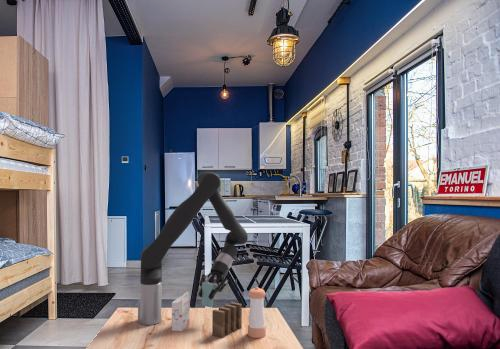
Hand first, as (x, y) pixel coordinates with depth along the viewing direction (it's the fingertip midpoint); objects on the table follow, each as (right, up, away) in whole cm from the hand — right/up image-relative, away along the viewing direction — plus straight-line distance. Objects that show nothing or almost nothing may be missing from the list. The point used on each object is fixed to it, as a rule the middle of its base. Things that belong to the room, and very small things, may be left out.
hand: (204, 297), depth 166 cm
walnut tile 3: (+11, -12, -5) cm, 17 cm away
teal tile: (+1, -4, +1) cm, 5 cm away
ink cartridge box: (-10, -12, -3) cm, 16 cm away
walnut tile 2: (+13, -12, -2) cm, 18 cm away
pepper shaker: (+22, -12, -10) cm, 27 cm away
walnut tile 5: (+7, -12, -12) cm, 18 cm away
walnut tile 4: (+9, -12, -9) cm, 17 cm away
